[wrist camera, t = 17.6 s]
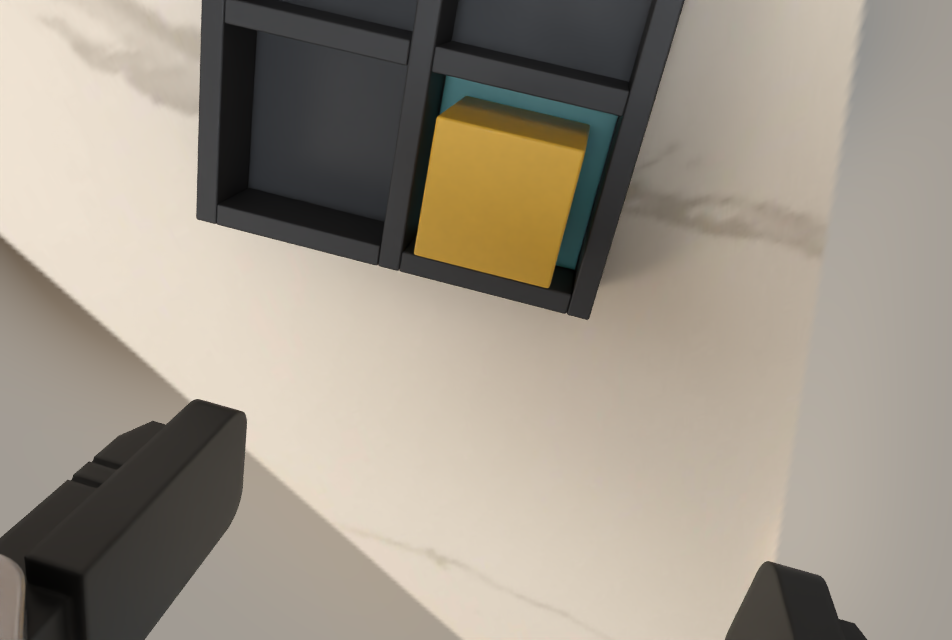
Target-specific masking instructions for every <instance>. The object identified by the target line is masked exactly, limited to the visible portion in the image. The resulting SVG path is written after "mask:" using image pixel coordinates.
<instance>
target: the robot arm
mask: <svg viewBox="0 0 952 640" xmlns="http://www.w3.org/2000/svg"><path fill="white" fill-rule="evenodd" d="M246 429H247V419H246V415H245V413H244V412H243V411H239V410H236V409H232V408H228V407H225V406H221V405H218V404H214V403H211V402H207V401H204V400H200V399H196V400H193V401H191V402H190V403H189V404H188V405H187V406H186V407H185V408H184V409H182V410H181V412H179V413H178V414H177V415H176V416H175V417H174V418H173V419H172V420H171V421H170V422H169V423H167V424H166V425H165V424H162V423H158V422H155V421H151V422H149V423H147V424H145V425H142V426H140V427H138V428H135V429H133V430H131V431H129V432H127V433H124V434H122V435H120V436H118V437H117V438H116V439H114V440H113V441H112V442H111V443H110V444H109V445H108V446H106V447H105V448H104V449H103V450H102V451H101V452H99V453H98V454H97V455H96V456H95V457H94V460H93V461H92V462H88V463H87V464H86V465H84V466H83V467H82V468H81V469H80V470H79V471H77V472H76V473H75V474H74V475H73V478H72V480H71V481H70V480H67V481H66V482H65V483H63V484H62V485H61V486H60V487H59V488H58V489H57V490H55V491H54V492H53V493H52V494H51V495H50V496H48V498H46V499H45V500H44V501H43V502H41V503H40V504H39V505H38V506H37V507H36V508H34V509H33V510H32V511H31V512H30V513H29V514H28V515H26V516H25V517H24V518H23V519H22V520H21V521H19V522H18V523H17V524H16V525H15V526H14V527H12V528H11V529H10V530H9V531H8V532H7V533H5V534H4V535H3V536H2V537H1V538H0V640H145V638H146V637H147V636H148V634H149V633H150V632H151V630H152V629H153V628H154V626H155V625H156V624H157V622H158V621H159V620H160V618H161V617H162V616H163V614H164V613H165V612H166V610H167V609H168V608H169V606H170V605H171V604H172V602H173V601H174V599H175V598H176V597H177V596H178V594H179V593H180V592H181V590H182V589H183V587H184V586H185V585H186V584H187V582H188V581H189V580H190V578H191V577H192V576H193V574H194V573H195V572H196V570H197V569H198V568H199V566H200V565H201V564H202V562H203V561H204V560H205V558H206V557H207V556H208V554H209V553H210V552H211V550H212V549H213V548H214V546H215V545H216V544H217V542H218V541H219V540H220V538H221V537H222V535H223V534H224V533H225V532H226V530H227V529H228V527H229V526H230V524H231V522H232V520H233V518H234V516H235V514H236V512H237V509H238V506H239V503H240V499H241V495H242V488H243V474H244V459H245V444H246ZM725 640H867V639H866V638H865V636H864V635H863V634H862V632H861V631H860V630H859V628H858V627H857V626H856V625H855V624H854V623H851V622H847V621H844V620H840V619H838V616H837V613H836V610H835V607H834V604H833V601H832V598H831V596H830V592H829V589H828V586H827V584H826V582H825V580H824V579H823V578H822V577H821V576H819V575H816V574H812V573H809V572H805V571H801V570H798V569H795V568H791V567H787V566H783V565H780V564H777V563H773V562H770V561H767V562H765V563H763V564H762V565H761V567H760V568H759V570H758V571H757V573H756V575H755V578H754V580H753V582H752V584H751V586H750V588H749V590H748V592H747V594H746V596H745V598H744V600H743V602H742V604H741V606H740V608H739V610H738V612H737V614H736V616H735V618H734V620H733V622H732V624H731V626H730V628H729V630H728V633H727V635H726V638H725Z"/></svg>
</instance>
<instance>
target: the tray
mask: <svg viewBox="0 0 952 640" xmlns="http://www.w3.org/2000/svg"><path fill="white" fill-rule="evenodd" d="M684 1H685V0H202V17H201V56H200V95H199V135H198V174H197V213H196V218H197V219H198V220H202V221H206V222H210V223H214V224H218V225H221V226H225V227H229V228H233V229H237V230H241V231H245V232H249V233H252V234H256V235H260V236H264V237H268V238H272V239H276V240H280V241H283V242H287V243H291V244H295V245H299V246H303V247H307V248H311V249H314V250H318V251H322V252H326V253H330V254H334V255H338V256H342V257H346V258H349V259H353V260H357V261H361V262H365V263H369V264H373V265H379V266H381V267H385V268H389V269H393V270H399V269H400V271H401V272H405V273H409V274H413V275H416V276H420V277H424V278H428V279H432V280H436V281H440V282H444V283H447V284H451V285H455V286H459V287H463V288H467V289H471V290H475V291H479V292H482V293H486V294H490V295H494V296H498V297H502V298H506V299H510V300H513V301H517V302H521V303H525V304H529V305H533V306H537V307H541V308H545V309H548V310H552V311H556V312H560V313H564V314H565V313H567V314H568V315H571V316H575V317H579V318H582V319H586V320H588V319H589V317H590V314H591V310H592V307H593V304H594V300H595V297H596V294H597V290H598V287H599V284H600V280H601V277H602V274H603V270H604V267H605V264H606V260H607V257H608V254H609V250H610V247H611V244H612V240H613V237H614V234H615V230H616V227H617V224H618V220H619V217H620V214H621V211H622V207H623V204H624V201H625V197H626V194H627V191H628V187H629V184H630V181H631V177H632V174H633V171H634V167H635V164H636V161H637V157H638V154H639V151H640V147H641V144H642V141H643V137H644V134H645V131H646V127H647V124H648V121H649V117H650V114H651V111H652V107H653V104H654V101H655V97H656V94H657V91H658V87H659V84H660V81H661V77H662V74H663V71H664V67H665V64H666V61H667V57H668V54H669V51H670V47H671V44H672V41H673V37H674V34H675V31H676V27H677V24H678V21H679V17H680V14H681V11H682V7H683V4H684ZM465 96H470V97H474V98H478V99H482V100H487V101H491V102H495V103H499V104H504V105H508V106H512V107H516V108H521V109H525V110H529V111H534V112H538V113H542V114H546V115H551V116H555V117H559V118H563V119H568V120H572V121H576V122H580V123H585V124H588V125H590V131H589V136H588V141H587V146H586V151H585V155H584V159H583V163H582V167H581V170H580V174H579V178H578V182H577V186H576V189H575V193H574V197H573V201H572V204H571V208H570V212H569V216H568V220H567V223H566V227H565V231H564V235H563V238H562V242H561V246H560V250H559V254H558V257H557V261H556V265H555V269H554V272H553V276H552V280H551V284H550V287H549V288H544V287H540V286H536V285H532V284H528V283H524V282H520V281H516V280H512V279H508V278H504V277H500V276H496V275H492V274H488V273H484V272H481V271H477V270H473V269H469V268H465V267H461V266H457V265H453V264H449V263H445V262H441V261H437V260H433V259H429V258H425V257H421V256H417V255H415V254H414V249H415V243H416V237H417V231H418V225H419V219H420V213H421V207H422V201H423V195H424V189H425V183H426V177H427V171H428V165H429V159H430V153H431V148H432V142H433V136H434V130H435V124H436V118H437V117H438V116H439V115H440V114H441V113H443V112H444V111H446V110H447V109H448V108H450V107H451V106H453V105H454V104H455V103H457V102H458V101H460V100H461V99H462V98H464V97H465Z"/></svg>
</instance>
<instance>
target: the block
mask: <svg viewBox="0 0 952 640" xmlns="http://www.w3.org/2000/svg"><path fill="white" fill-rule="evenodd" d="M589 131H590V125H588V124H585V123H580V122H576V121H572V120H568V119H563V118H559V117H555V116H551V115H546V114H542V113H538V112H534V111H529V110H525V109H521V108H516V107H512V106H508V105H504V104H499V103H495V102H491V101H487V100H482V99H478V98H474V97H470V96H465V97H464V98H462V99H461V100H460V101H458V102H457V103H455V104H454V105H453V106H451V107H450V108H448V109H447V110H446V111H444V112H443V113H441V114H440V115H439V116H438V117H437V118H436V124H435V130H434V136H433V142H432V148H431V153H430V159H429V165H428V171H427V177H426V183H425V189H424V195H423V201H422V207H421V213H420V219H419V225H418V231H417V237H416V243H415V249H414V254H415V255H417V256H421V257H425V258H429V259H433V260H437V261H441V262H445V263H449V264H453V265H457V266H461V267H465V268H469V269H473V270H477V271H481V272H484V273H488V274H492V275H496V276H500V277H504V278H508V279H512V280H516V281H520V282H524V283H528V284H532V285H536V286H540V287H544V288H549V287H550V284H551V280H552V276H553V272H554V269H555V265H556V261H557V257H558V254H559V250H560V246H561V242H562V238H563V235H564V231H565V227H566V223H567V220H568V216H569V212H570V208H571V204H572V201H573V197H574V193H575V189H576V186H577V182H578V178H579V174H580V170H581V167H582V163H583V159H584V155H585V151H586V146H587V141H588V136H589Z"/></svg>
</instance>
